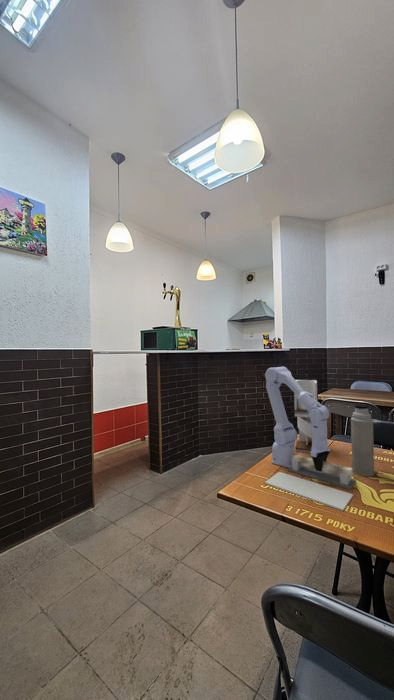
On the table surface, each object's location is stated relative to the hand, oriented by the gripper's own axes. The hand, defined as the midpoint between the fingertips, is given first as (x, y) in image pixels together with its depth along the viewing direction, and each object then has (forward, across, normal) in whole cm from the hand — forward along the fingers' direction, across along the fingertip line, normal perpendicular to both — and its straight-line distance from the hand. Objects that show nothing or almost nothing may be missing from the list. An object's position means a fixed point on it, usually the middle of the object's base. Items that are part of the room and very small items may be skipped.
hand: (320, 469), depth 113 cm
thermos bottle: (+3, +15, -12) cm, 19 cm away
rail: (0, 0, 0) cm, 0 cm away
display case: (+3, +27, +16) cm, 32 cm away
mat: (+3, -14, 0) cm, 14 cm away
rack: (+3, 0, 0) cm, 3 cm away
